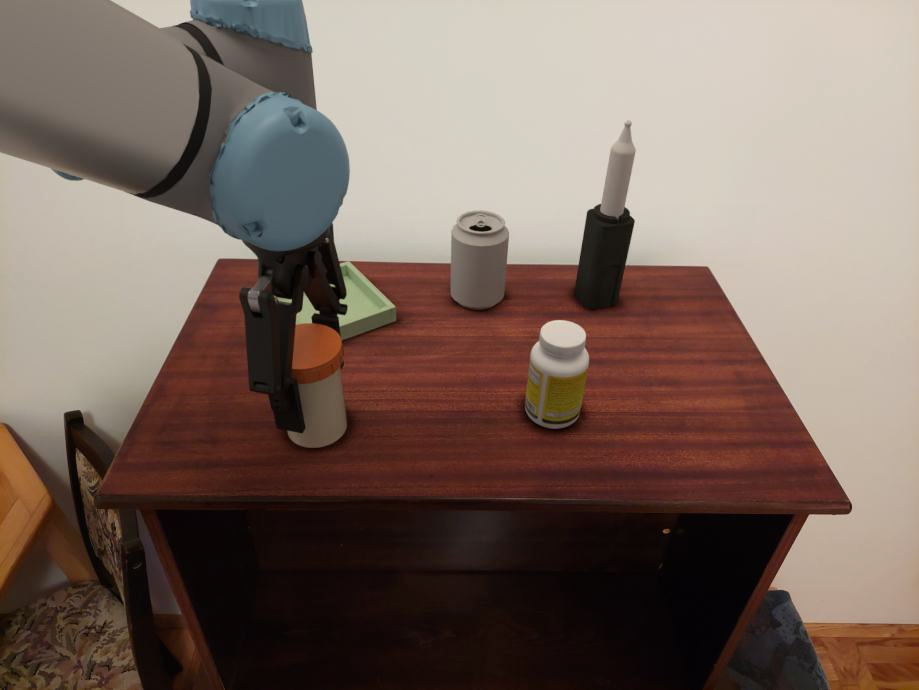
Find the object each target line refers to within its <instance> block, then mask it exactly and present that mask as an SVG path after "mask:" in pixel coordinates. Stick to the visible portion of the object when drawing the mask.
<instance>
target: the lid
mask: <svg viewBox="0 0 919 690" xmlns="http://www.w3.org/2000/svg"><path fill="white" fill-rule="evenodd" d="M344 357H345V350H344V345H343V340H341V337H340V335H339V334H338V333H337V332H336V331H335V330H334V329H332V328H330V327H328V326H325V325H321V324H314V323H305V324H298V325H296V327H295V339H294V351H293V363H292V375H291V377H292V378H297V382H298V384H307V383H313V382H317V381H321V380H323V379H325V378H327V377H329V376H331V375H332V374H334V373H335V372H336V371H337V370H338V369H339V368H340V366H341V365H342V362H343V360H344Z"/></svg>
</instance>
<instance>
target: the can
mask: <svg viewBox="0 0 919 690" xmlns="http://www.w3.org/2000/svg"><path fill="white" fill-rule="evenodd" d="M450 232H451V233H450V234H451V236H450V239H451V240H450V242H451V243H450V244H451V245H450V287H449V288H450V292H449V293H450V296H451V298H452V299H453V300H454V301H455V302H457V303H458V304H459V305H460V306H462V307H464V308H466V309H469V310H475V311H476V310H477V311H478V310H479V311H481V310H487V309H490V308H493V307H494V306H496V305H498V303H500V302H501V301H502V300H503V299H504V296H505V291H506V290H505V289H506V277H507V267H508V253H509V241H510V231H509V228H508V227H507V226H506V221H505V219H504V217H502V216H501V215H500V214H498V213H496V212H492V211H488V210H482V209H481V210H480V209H479V210H470V211H466V212H463V213H462V214H460V215H459V216H458V217H457V219H456V223H455V224H454V225H453V226H452V229H451V231H450Z"/></svg>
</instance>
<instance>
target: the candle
mask: <svg viewBox="0 0 919 690" xmlns="http://www.w3.org/2000/svg"><path fill="white" fill-rule="evenodd" d="M623 124H624V127H623V129H622V131H621V133H620V134H619V137H618V139H617V140H616V141H615V142H614V143H613V144H612V145H611V147H610V151H609V157H608V163H607V169H606V175H605V181H604V186H603V190H602V191H603V192H602V197H601V203H599V204H596V205H594V206H593V208H590V209H588V210H587V211H586V217H585V223H584V228H583V234H582V241H581V246H580V253H579V260H578V266H577V273H576V277H575V284H574V290H573V295H574V297H575V298H576V299H577V301H579V303H580V304H581V305H582V306H583V308H585V309H586V310H591V311H596V310H597V309H602V308H607V307H611V308H612V307H615V306H617V305H618V301H619V299H620V298H619V297H620V294H621V293H620V292H621V287H622V284H623V279H624V274H625V269H626V265H627V260H628V256H629V250H630V246H631V241H632V237H633V232H634V227H635V223H636V220H635V218H634V217H633V216H631V212H630V210H629V209H628V208H627V207H626V201H627V197H628V192H629V187H630V181H631V176H632V172H633V166H634V162H635V158H636V157H635V156H636V153H637V152H636V151H637V150H636V146H635V145H634V144H635V143H634V142H633V139H632V129H631V127H632V125H633V123H632V121H631V120H630V119H626V120H625V121H624V123H623Z"/></svg>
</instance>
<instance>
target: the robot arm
mask: <svg viewBox="0 0 919 690" xmlns="http://www.w3.org/2000/svg"><path fill="white" fill-rule="evenodd" d="M189 4H190V10H189V15H190V18H191V19H192V20H188V21H184V22H181V23H178V24H175V25H171V26H170V25H169V26H164V27H158V26H156V25H155V24H153V23H151V22H150V21H148V20H146V19H144V18H143V17H141V16H139V15H137V14H135V13H134V12H132V11H130V10H129V9H126V8H125V7H123V6H122V5H120V4H118V3H116V2H115V1H113V0H0V153H1V154H3V155H7V156H9V157H14V158H17V159H20V160H23V161H26V162H30V163H32V164H35V165H39V166H42V167H45V168H49V169H50V170H51V171H52V172H53V173H55V174H56V175H57V176H59V177H60V178H62V179H65V180H67V181H70V182H71V181H76V182H78V181H84V180H87V181H90V182H94V183H96V184H99V185H102V186H106V187H108V188H112V189H115V190H119V191H121V192H124V193H127V194H129V195H132V196H134V197H136V198H139V199H142V200H144V201H147V202H150V203H154V204H156V205H159V206H162V207H165V208H169V209H172V210H175V211H179V212H181V213H185V214H188V215H191V216H194V217H198V218H200V219H203V220H206V221H208V222H210V223H212V224H214V225H217V226H218V227H219V228H220V229H221V230H222V231H223V233H224V234H226V235H228V236H229V237H231V238H233V239H236V240H239V241H242V243H243V244H244V246H245V247H246V248H248V249H249V250H250V251H251V252H252V253H253V254H254V255H255V256H256V258H257V273H256V274H257V282H255V285H253V287H248V286H242V287H241V288H240V289H239V293H238V298H239V302H240V305H241V308H242V311H243V317H244V329H245V330H244V331H245V348H246V360H247V376H248V378H247V379H248V388H249V391H250V392H254V393H259V394H264V395H268V400H269V404H270V409H271V410H272V414H273V417H274V422H275V426H276V429H278V430H281V431H286V432H287V431H292V432H297V433H303V432H304V430H305V429H306V427H305V422H304V416H303V410H302V405H301V399H300V394H299V388H298V382H297V378H292V377H291V375H292V363H293V351H294V339H295V327H296V315H297V313H299V312H301V310H302V307H303V296H304V293H305V295H306V296H307V298H308V299H309V301H310V302H311V304H312V306H313V307H314V309H315V310H316V311H319V313H320V314H318V313H314V314H313V315H312V317H311V319H312V323H314V324H321V325H325V326H328V327H330V328H332V329H334V330H335V331H336V332H337V333H338V334H339V335H340V337H341V334H340V326H339V317H338V316H337V314H339V315H346V313H347V309H348V306H347V305H346V304H340V302H339V301H340V299H343V300H344V299H345V298H346V295H347V291H346V287H345V283H344V279H343V275H342V271H341V267H340V263H341V262H340V260H339V259H340V258H339V256H338V251H337V247H336V244H335V235H334V233H335V231H334V221H335V220H336V218H337V217H338V214H339V211H340V208H341V207H342V205H343V204H344V199H345V197H346V195H347V193H348V189H349V184H350V172H351V169H350V168H351V167H350V166H351V165H350V157H349V152H348V149H347V145H346V142H345V140H344V137H343V136H342V134H341V132H340V131H339V129H338V127H337V126H336V125H335V124H334V122H333V121H332V120H331V119H330V118H328V117H327V116H326V115H325V114H324V113H322V112H321V111H319V110H318V109H317V108H318V107H317V98H316V86H315V76H314V68H313V67H314V66H313V55H312V54H313V53H314V51H313V47H312V44H311V42H310V34H309V28H308V27H309V26H308V22H307V16H306V11H305V7H304V2H303V0H189ZM330 284H332V285H334V286H335V287H334V286H330ZM274 295H275V296H276V297H278V298H284V299H292V302H291V303H288V302H282V301H278V299H277V298H274ZM344 366H345V361H344V359H343V362H342V365H341V370H342V369H343V367H344Z"/></svg>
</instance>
